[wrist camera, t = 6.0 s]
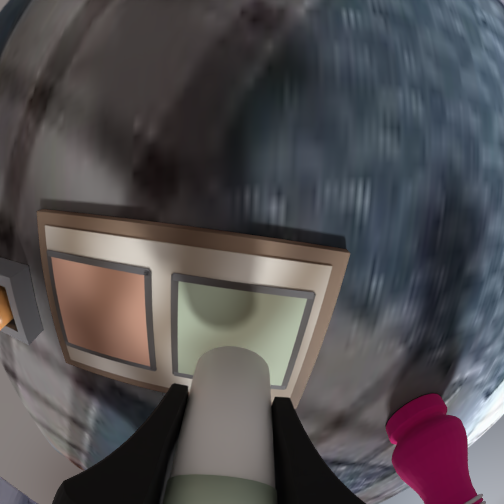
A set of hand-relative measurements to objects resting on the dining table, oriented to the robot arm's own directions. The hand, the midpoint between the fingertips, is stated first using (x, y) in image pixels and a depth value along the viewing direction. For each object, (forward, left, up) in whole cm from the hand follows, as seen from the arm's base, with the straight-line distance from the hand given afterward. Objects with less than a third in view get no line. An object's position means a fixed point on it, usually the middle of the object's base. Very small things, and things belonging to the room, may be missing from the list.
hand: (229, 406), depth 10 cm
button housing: (+18, +1, -6) cm, 19 cm away
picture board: (+4, 0, -6) cm, 7 cm away
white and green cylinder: (0, 0, -2) cm, 2 cm away
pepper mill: (-18, +9, -6) cm, 21 cm away
